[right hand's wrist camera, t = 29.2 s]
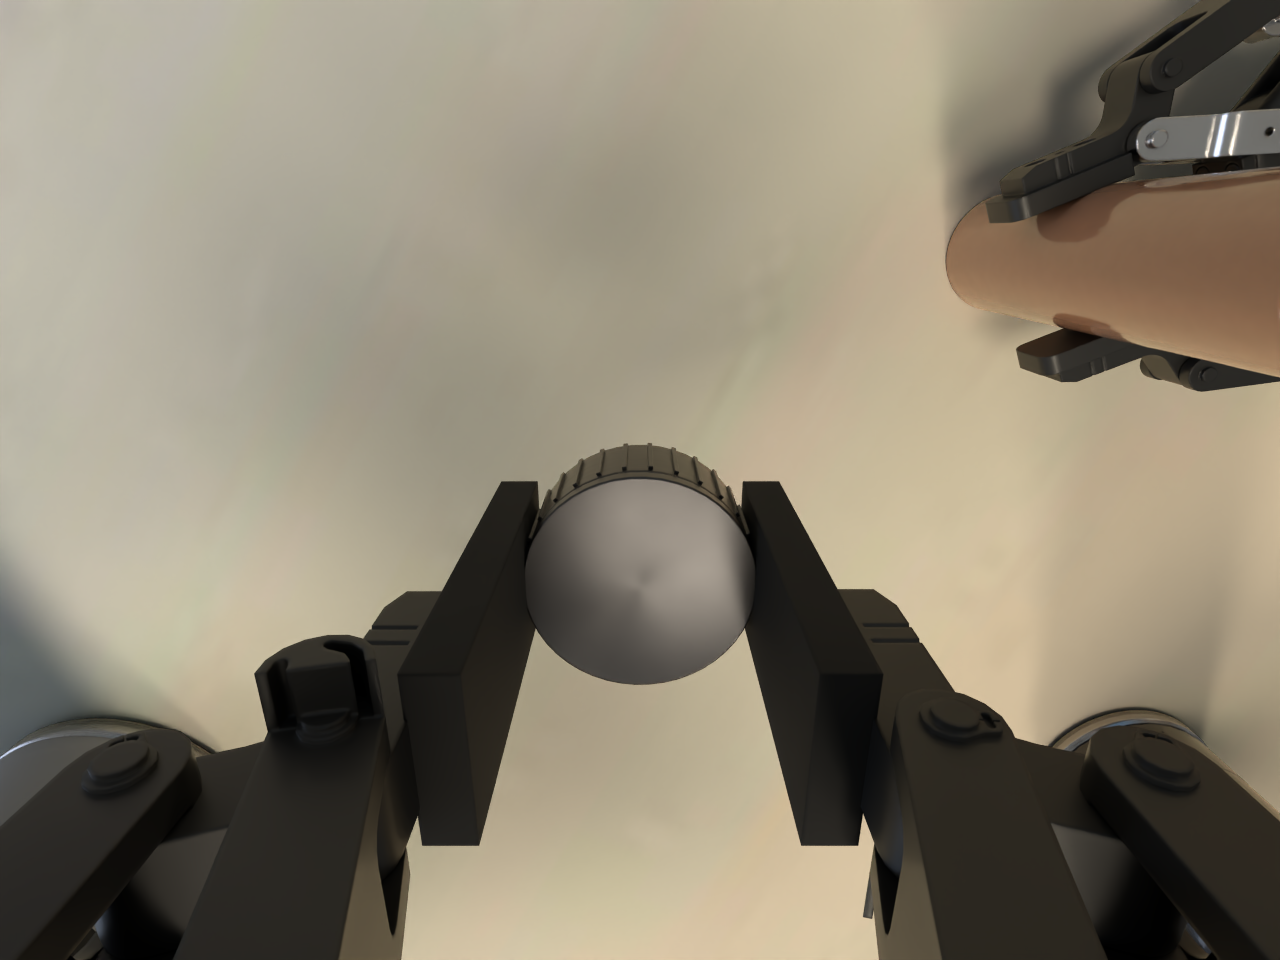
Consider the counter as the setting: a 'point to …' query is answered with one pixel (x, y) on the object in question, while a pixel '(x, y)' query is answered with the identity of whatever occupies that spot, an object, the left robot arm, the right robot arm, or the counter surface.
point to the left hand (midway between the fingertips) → (1016, 290)
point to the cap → (640, 566)
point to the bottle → (1141, 265)
